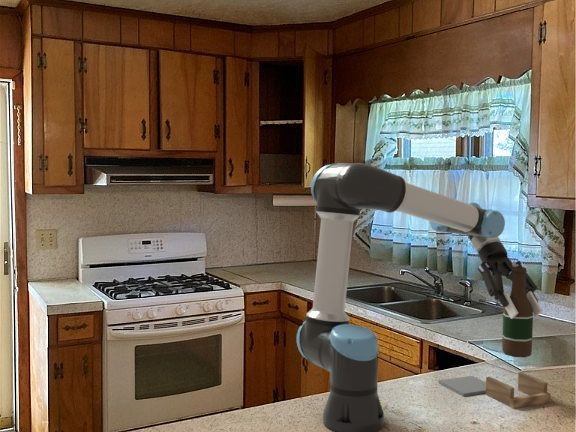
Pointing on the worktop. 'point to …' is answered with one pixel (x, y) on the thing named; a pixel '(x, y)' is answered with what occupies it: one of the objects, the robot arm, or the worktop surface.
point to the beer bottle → (518, 319)
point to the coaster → (465, 385)
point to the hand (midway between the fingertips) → (526, 314)
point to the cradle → (525, 384)
